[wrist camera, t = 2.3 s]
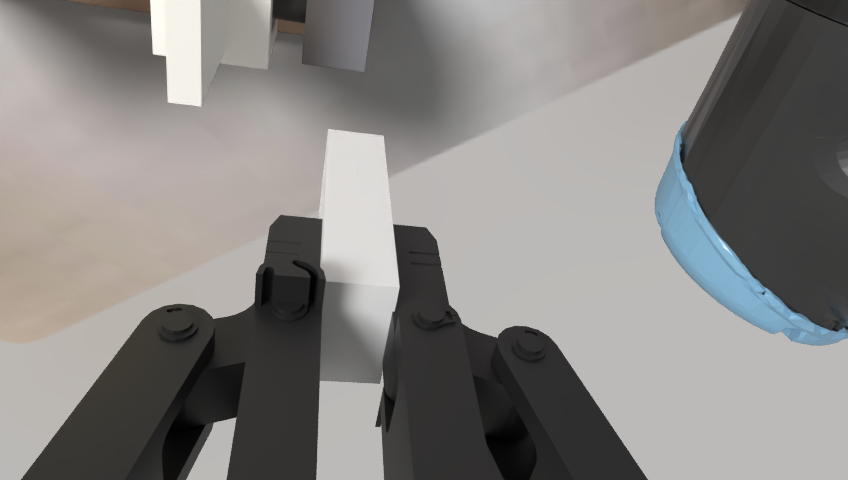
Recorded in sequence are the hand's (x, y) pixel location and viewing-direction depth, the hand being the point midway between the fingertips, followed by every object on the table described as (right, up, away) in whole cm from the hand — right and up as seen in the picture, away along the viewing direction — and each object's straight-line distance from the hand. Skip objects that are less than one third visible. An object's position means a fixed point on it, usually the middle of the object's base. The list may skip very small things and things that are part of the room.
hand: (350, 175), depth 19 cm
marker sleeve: (-8, +11, +14) cm, 20 cm away
